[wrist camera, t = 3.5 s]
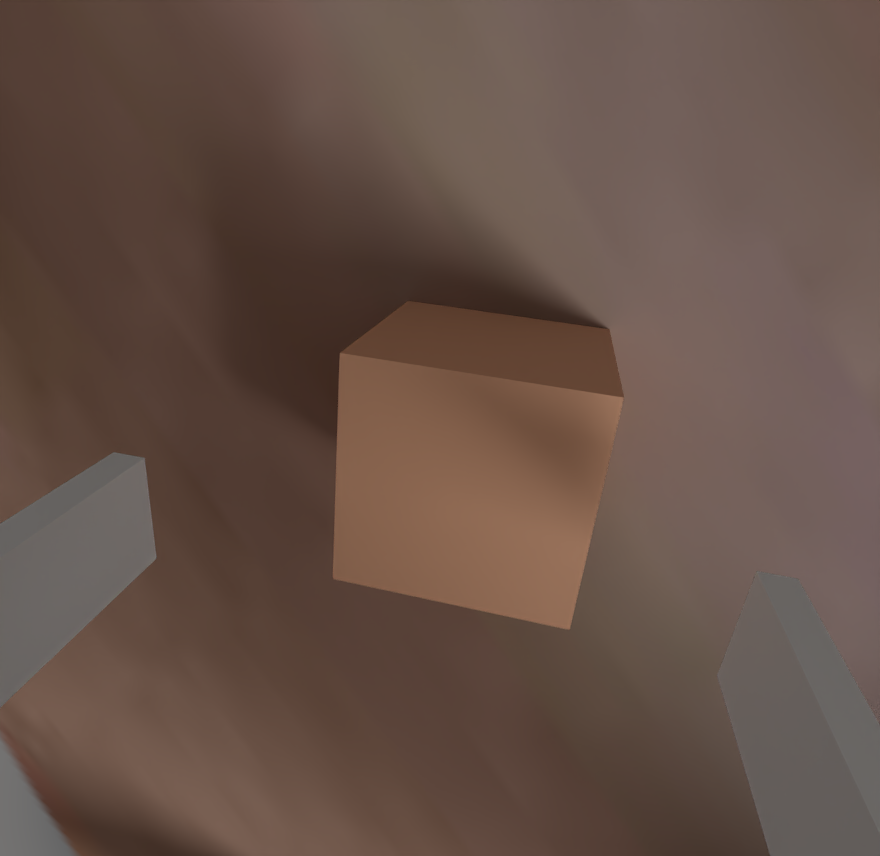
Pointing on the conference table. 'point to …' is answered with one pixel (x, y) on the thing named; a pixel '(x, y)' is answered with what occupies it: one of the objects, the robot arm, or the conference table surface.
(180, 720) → the conference table surface
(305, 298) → the conference table surface
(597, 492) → the terracotta block
